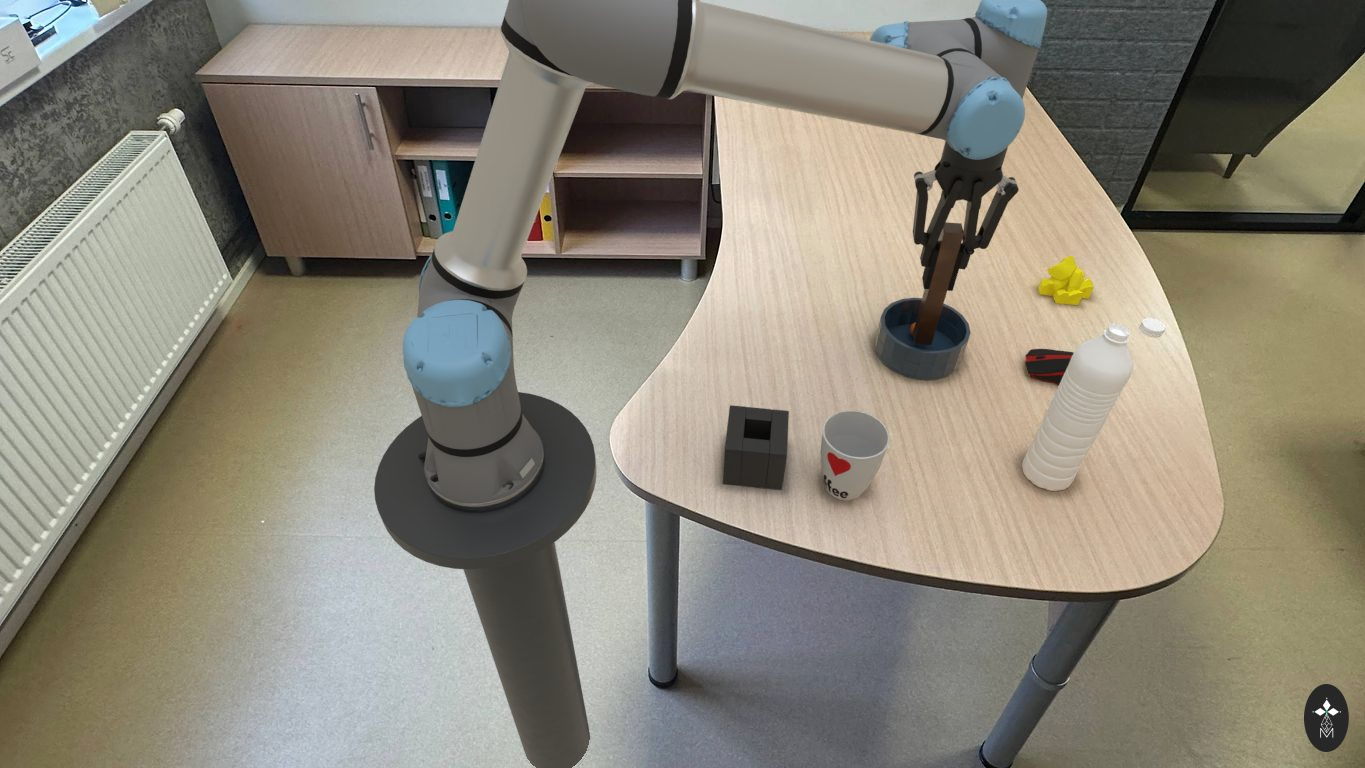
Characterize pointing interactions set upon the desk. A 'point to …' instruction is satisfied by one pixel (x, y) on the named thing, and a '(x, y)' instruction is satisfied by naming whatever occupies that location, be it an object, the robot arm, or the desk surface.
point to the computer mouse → (1047, 364)
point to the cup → (851, 452)
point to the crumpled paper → (1066, 283)
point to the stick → (938, 284)
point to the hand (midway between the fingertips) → (937, 284)
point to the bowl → (915, 358)
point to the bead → (912, 328)
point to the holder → (756, 447)
